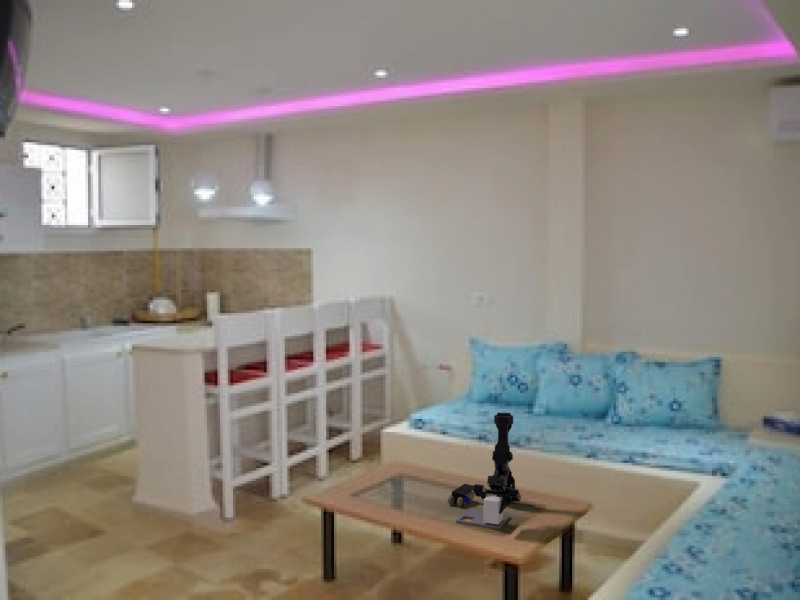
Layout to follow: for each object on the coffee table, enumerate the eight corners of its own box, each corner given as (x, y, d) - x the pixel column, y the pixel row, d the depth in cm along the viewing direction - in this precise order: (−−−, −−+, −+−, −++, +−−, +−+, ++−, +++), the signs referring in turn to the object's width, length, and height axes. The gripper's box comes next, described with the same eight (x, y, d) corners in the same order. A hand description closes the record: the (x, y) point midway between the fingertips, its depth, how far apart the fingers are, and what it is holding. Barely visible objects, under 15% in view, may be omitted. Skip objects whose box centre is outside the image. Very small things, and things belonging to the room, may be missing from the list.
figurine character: (461, 514, 301) (478, 500, 313) (460, 497, 300) (477, 484, 312) (447, 512, 305) (464, 498, 317) (446, 495, 304) (463, 481, 316)
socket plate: (468, 515, 296) (468, 509, 296) (509, 521, 288) (509, 515, 288) (455, 526, 283) (455, 520, 283) (499, 533, 276) (499, 526, 276)
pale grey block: (488, 522, 284) (488, 495, 284) (502, 525, 282) (502, 497, 281) (483, 528, 279) (483, 499, 278) (498, 530, 276) (497, 501, 276)
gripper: (473, 464, 287) (464, 499, 277) (518, 469, 279) (510, 506, 269) (480, 478, 294) (471, 512, 285) (524, 483, 286) (516, 519, 277)
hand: (492, 512), depth 279 cm, fingers closed on pale grey block, 6 cm apart
